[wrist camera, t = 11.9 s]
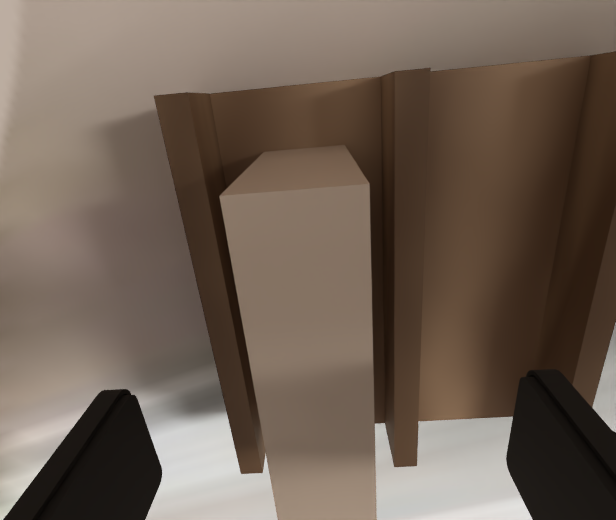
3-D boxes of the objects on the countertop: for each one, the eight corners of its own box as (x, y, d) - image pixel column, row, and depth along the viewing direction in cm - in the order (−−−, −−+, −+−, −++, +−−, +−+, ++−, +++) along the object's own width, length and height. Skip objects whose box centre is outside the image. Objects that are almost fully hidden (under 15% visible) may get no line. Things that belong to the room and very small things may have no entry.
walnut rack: (591, 56, 14) (692, 41, 10) (530, 393, 20) (578, 458, 16) (194, 96, 15) (153, 95, 11) (254, 407, 21) (241, 473, 17)
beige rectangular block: (344, 144, 14) (369, 184, 7) (356, 396, 18) (377, 554, 12) (264, 151, 14) (219, 196, 7) (295, 399, 19) (284, 557, 12)
